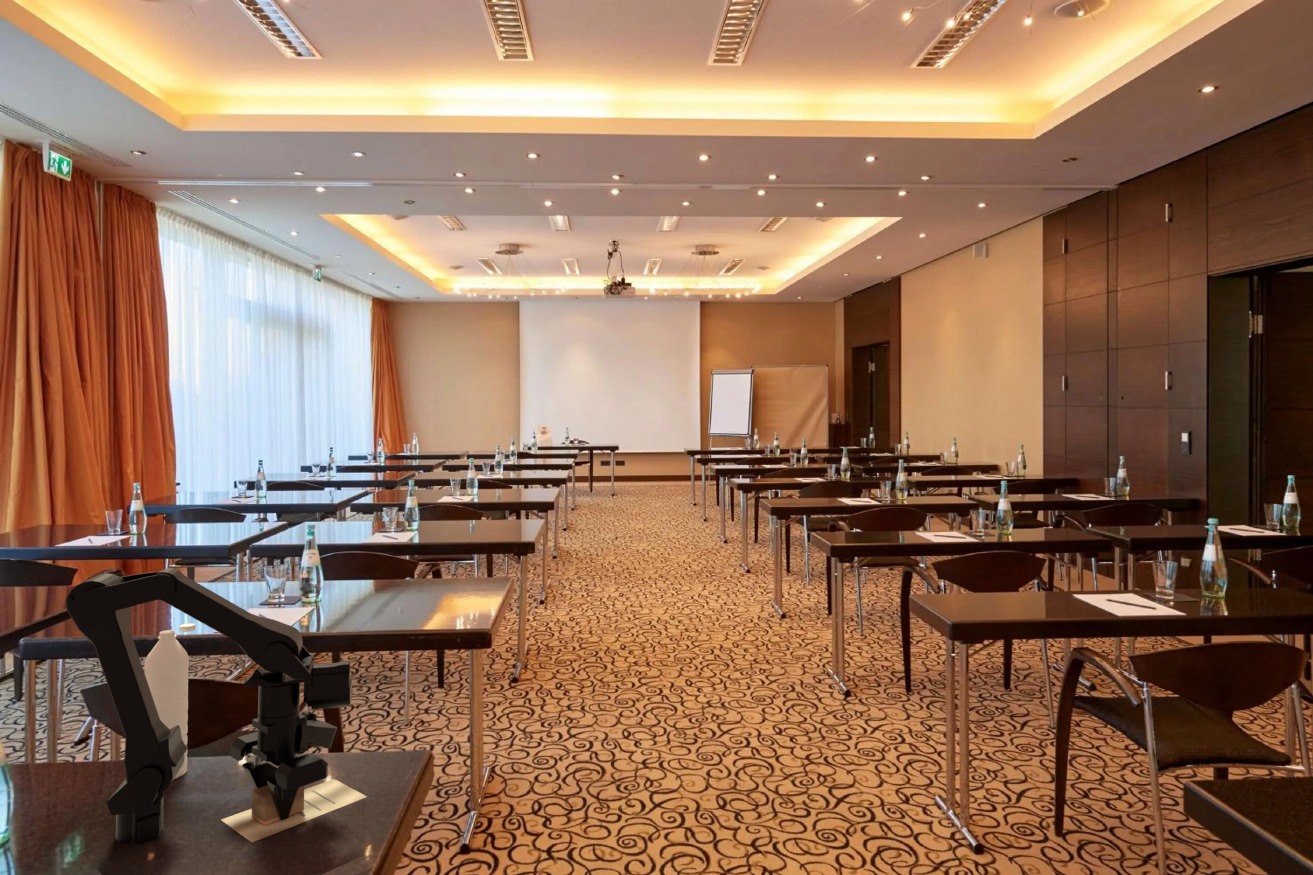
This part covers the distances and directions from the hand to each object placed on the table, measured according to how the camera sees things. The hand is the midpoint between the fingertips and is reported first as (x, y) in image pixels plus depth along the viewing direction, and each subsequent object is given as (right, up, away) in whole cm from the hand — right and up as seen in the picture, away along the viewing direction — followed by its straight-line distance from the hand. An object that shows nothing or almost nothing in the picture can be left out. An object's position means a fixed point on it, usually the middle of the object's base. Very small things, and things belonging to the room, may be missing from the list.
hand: (277, 813), depth 118 cm
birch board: (+2, -2, +2) cm, 3 cm away
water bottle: (-27, -1, +17) cm, 32 cm away
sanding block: (0, 0, 0) cm, 0 cm away
